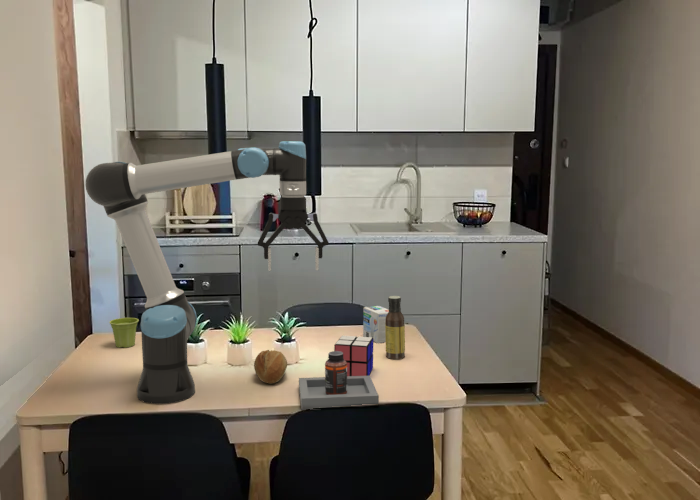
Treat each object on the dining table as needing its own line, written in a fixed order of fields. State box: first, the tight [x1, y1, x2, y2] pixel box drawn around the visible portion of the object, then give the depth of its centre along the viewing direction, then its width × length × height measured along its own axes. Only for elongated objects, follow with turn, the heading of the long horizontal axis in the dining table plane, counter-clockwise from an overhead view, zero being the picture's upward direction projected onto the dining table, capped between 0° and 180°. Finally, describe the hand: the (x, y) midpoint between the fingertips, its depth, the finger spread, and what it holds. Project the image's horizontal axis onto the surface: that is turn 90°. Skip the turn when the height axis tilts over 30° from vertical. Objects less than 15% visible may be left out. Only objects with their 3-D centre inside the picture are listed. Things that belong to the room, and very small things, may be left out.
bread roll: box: [253, 349, 288, 385], centre depth 196 cm, size 10×15×8 cm, turn 5°
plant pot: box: [108, 317, 140, 348], centre depth 228 cm, size 9×9×9 cm
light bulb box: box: [362, 305, 389, 344], centre depth 238 cm, size 11×7×11 cm, turn 28°
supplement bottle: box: [324, 350, 347, 395], centre depth 180 cm, size 6×6×11 cm
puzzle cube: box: [333, 335, 374, 376], centre depth 201 cm, size 10×10×10 cm
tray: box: [298, 375, 380, 411], centre depth 181 cm, size 20×16×3 cm
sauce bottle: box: [385, 295, 406, 360], centre depth 216 cm, size 6×6×20 cm
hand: (293, 270), depth 194 cm, fingers open, 13 cm apart
